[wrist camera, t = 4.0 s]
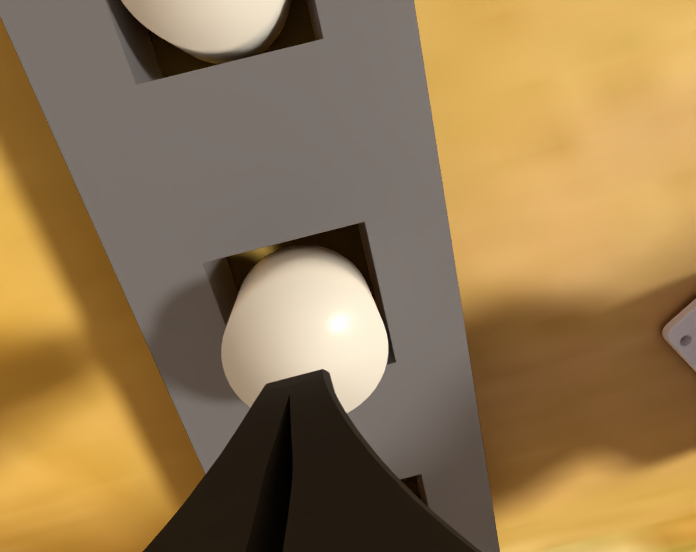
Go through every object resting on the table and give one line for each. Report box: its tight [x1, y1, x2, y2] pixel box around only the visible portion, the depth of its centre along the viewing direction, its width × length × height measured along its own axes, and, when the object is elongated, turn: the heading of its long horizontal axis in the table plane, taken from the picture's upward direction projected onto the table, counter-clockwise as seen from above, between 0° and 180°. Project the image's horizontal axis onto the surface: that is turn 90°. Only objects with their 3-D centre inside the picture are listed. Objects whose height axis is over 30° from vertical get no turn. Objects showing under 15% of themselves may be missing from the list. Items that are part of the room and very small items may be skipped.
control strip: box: [0, 0, 500, 552], centre depth 15 cm, size 10×29×3 cm, turn 13°
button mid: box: [221, 245, 388, 413], centre depth 13 cm, size 4×4×3 cm
